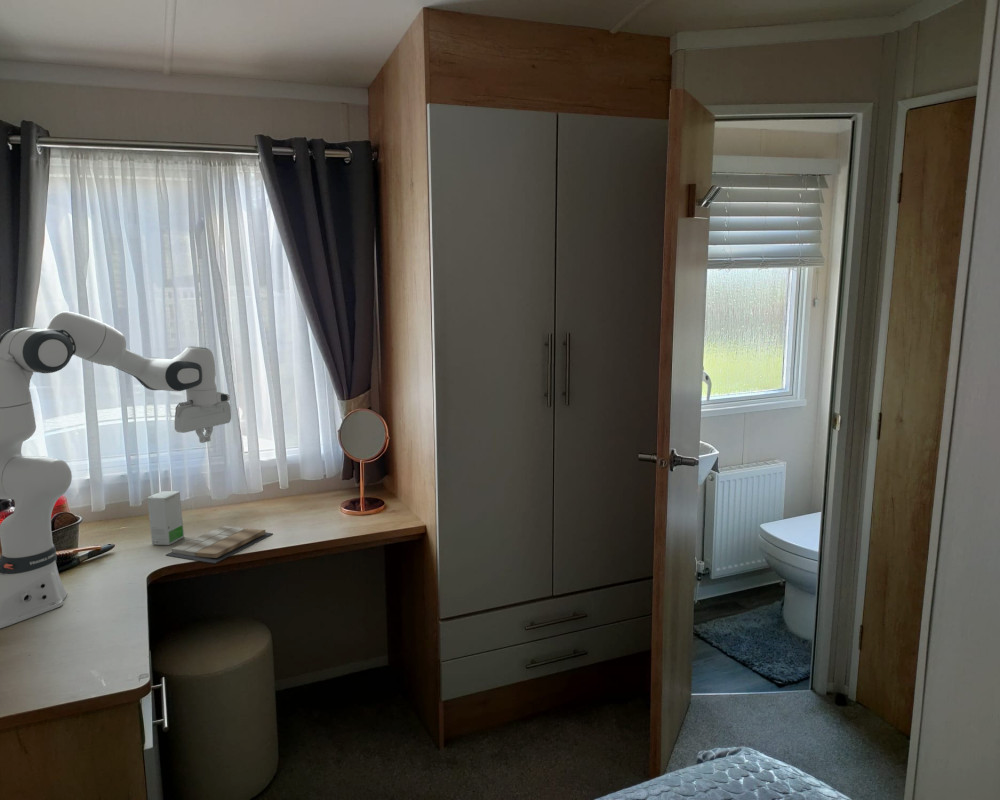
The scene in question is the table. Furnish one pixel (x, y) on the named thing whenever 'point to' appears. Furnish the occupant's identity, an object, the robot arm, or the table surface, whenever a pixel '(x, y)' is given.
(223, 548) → the plank
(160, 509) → the skincare box
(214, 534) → the laid floor
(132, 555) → the table surface
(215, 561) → the underlay
